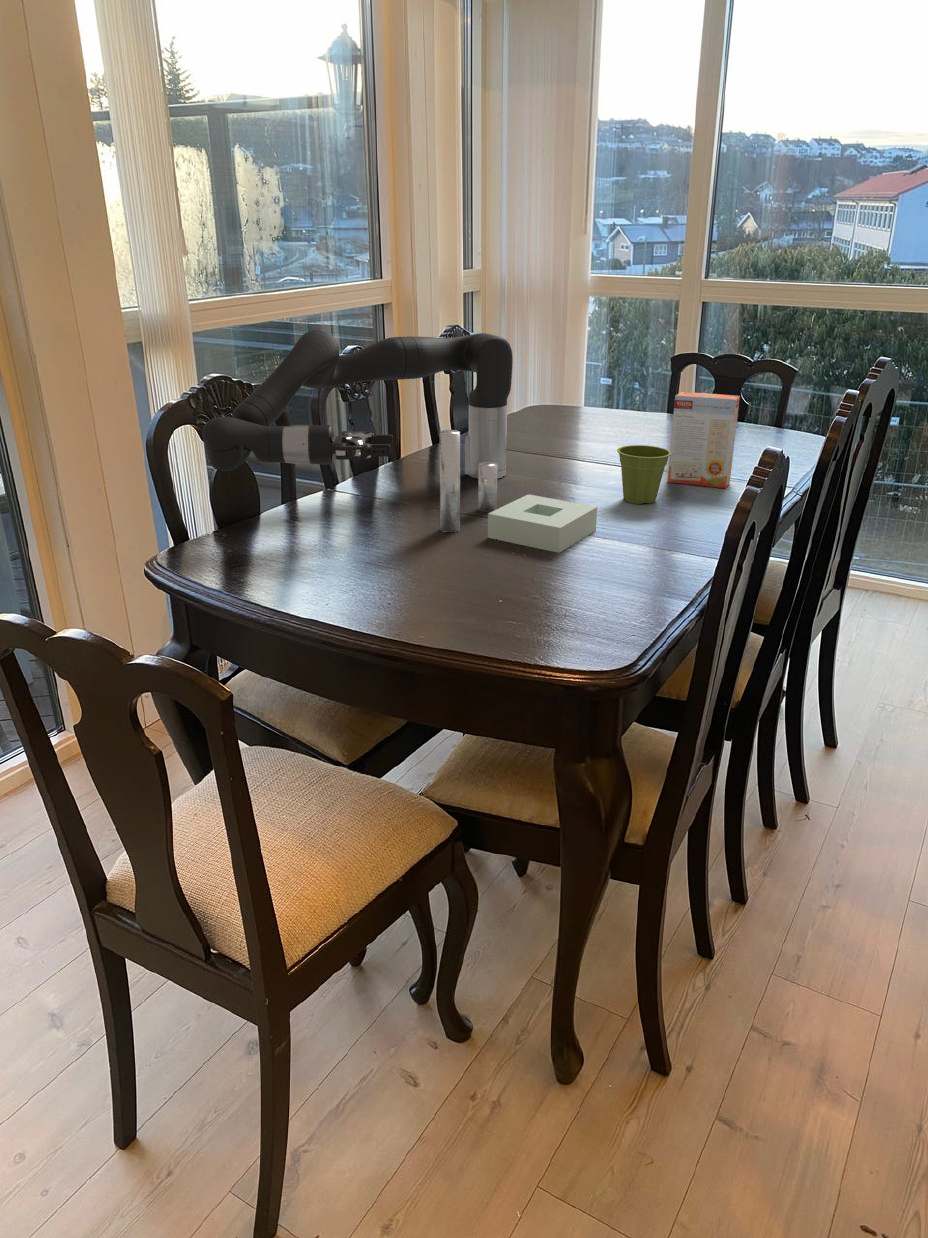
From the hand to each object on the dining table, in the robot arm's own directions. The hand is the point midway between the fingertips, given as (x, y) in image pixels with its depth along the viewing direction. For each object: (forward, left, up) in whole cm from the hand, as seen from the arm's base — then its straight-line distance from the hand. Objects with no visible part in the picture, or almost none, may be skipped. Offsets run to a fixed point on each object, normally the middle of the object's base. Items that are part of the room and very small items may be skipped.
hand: (392, 445), depth 177 cm
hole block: (+26, +15, -17) cm, 35 cm away
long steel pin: (+9, +7, -17) cm, 21 cm away
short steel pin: (+8, +23, -17) cm, 30 cm away
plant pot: (+33, +48, -18) cm, 61 cm away
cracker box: (+39, +69, -18) cm, 81 cm away
